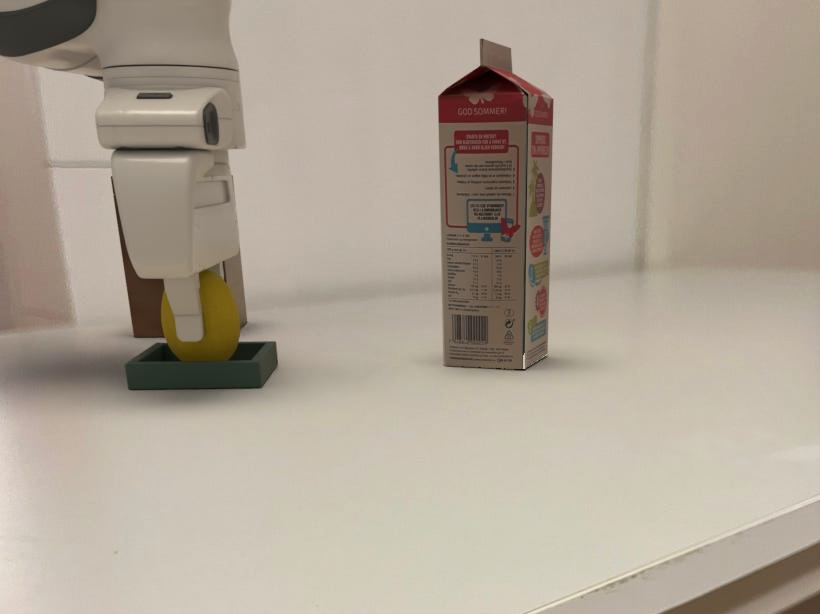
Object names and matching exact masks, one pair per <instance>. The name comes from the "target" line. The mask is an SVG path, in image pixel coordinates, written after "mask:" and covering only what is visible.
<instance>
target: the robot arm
mask: <svg viewBox="0 0 820 614" xmlns="http://www.w3.org/2000/svg"><path fill="white" fill-rule="evenodd" d="M232 5H233V0H0V57H2V58H5V59H7V60H10V61H12V62H14V63H15V62H16V63H19V64H22V65H29V66H32V67H33V66H34V67H39V68H44V69H48V70H52V71H55V72H62V73H68V74H77V75H83V76H86V77H88V78H91V79H93V80H96V81H99V82H102V83H103V89H104V90H103V99H102V101H101V102H100V103H99V105H98V106H97V108H96V110H95V113H94V119H95V120H94V121H95V126H96V127H95V128H96V134H97V139H98V143H99V145H100V147H101V148H103V149H105V150H112V152H111V157H110V170H111V176H112V178H113V183H114V189H115V194H116V199H117V204H118V209H119V214H120V219H121V224H122V229H123V233H124V238H125V243H126V247H127V251H128V254H129V257H130V260H131V262H132V265H133V267H134V269H135V271H136V273H137V275H138V276H139V277H140V278H146V279H164V287H165V293H166V295H167V298H168V301H169V304H170V306H171V309H172V312H173V315H174V319H175V326H176V334H177V337H178V339H179V340H181V341H182V342H198V341H200V340H201V339H203V338H204V337H205V335H206V327H205V315H204V313H202V309H201V302H200V295H199V289H200V281H199V272H202V271H204V270H206V269H207V270H210V271H212V272H214V273H215V274H217V275H218V276H220V277H221V278H222V279H223V280H224V272H223V263H222V262H223V261H225V260H227V259H229V258H231V257H233V256H236V255H237V254H238V252H239V243H240V231H239V222H238V214H237V213H238V212H237V205H236V204H237V203H236V196H235V197H234V193H235V188H234V189H233V182H234V181H233V182H232V176H231V175H232V171H231V165H230V155H229V151H230V150H244V149H246V148H247V138H246V129H245V119H244V117H245V116H244V105H243V97H242V96H243V95H242V85H241V74H240V65H239V62H238V58H237V56H236V53H235V50H234V47H233V43H232V38H231V32H230V31H231V30H230V17H231V10H232ZM235 203H236V204H235Z"/></svg>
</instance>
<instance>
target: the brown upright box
mask: <svg viewBox="0 0 820 614" xmlns="http://www.w3.org/2000/svg"><path fill="white" fill-rule="evenodd" d="M231 176H232V182H233V189H234V190H235V183H234V182H235V181H234V175H233V174H231ZM110 181H111V182H110V183H111V189H112V194H113V196H112V197H113V203H114V210H115V215H116V216H115V217H116V225H117V231H118V237H119V244H120V252H121V258H122V265H123V272H124V278H125V286H126V293H127V299H128V305H129V314H130V318H131V319H130V321H131V326H132V327H131V328H132V333H133V338H165V336H164V332H163V328H162V322H161V304H162V297H163V293H164V290H165V287H164V279H146V278H140V277H139V276H138V275H137V273H136V271H135V269H134V267H133V265H132V262H131V260H130V257H129V254H128V251H127V247H126V243H125V238H124V233H123V229H122V224H121V219H120V214H119V209H118V204H117V199H116V194H115V189H114V183H113V178H112V175H111V176H110ZM234 197H235V198H236V194H235V192H234ZM235 204H237V202H235ZM222 263H223V272H224V281H225V282H226V283H227V285H228V286H229V288H230V289H231V291H232V293H233V296H234V298H235V301H236V304H237V308H238V312H239V318H240V329H242V328H243V327H244V326H245V325H246V324H247V323H248V317H247V316H248V315H247V314H248V313H247V305H246V295H245V285H244V275H243V267H242V266H243V265H242V253H241V245H240V242H239V252H238V254H237V255H236V256H233V257H231V258H229V259H227V260H225V261H223V262H222Z"/></svg>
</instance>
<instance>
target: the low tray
mask: <svg viewBox="0 0 820 614" xmlns="http://www.w3.org/2000/svg"><path fill="white" fill-rule="evenodd" d="M278 359H279V358H278V349H277V341H276V340H269V341H267V340H264V341H262V340H261V341H260V340H259V341H257V340H256V341H239V342H238V346H237V348H236V350H235V352H234V353H233V355H232V356H231V357H230V358H229V359H228V360H227V361H181V360H180V359H179V358H178V357H177V356H176V355H175V354H174V353H173V352H172V350H171V349H170V347H169V345H168V343H167V342H155V343H154V344H152V345H151V346H149V347H148V348H146V349H145V350H143V351H142V352H140V353H139V354H137V355H135V356H134V357H132V358H131V359H130V360H128V361H127V362H125V363H124V370H125V376H126V382H127V389H128V390H188V389H189V390H190V389H248V388H249V389H253V388H254V389H255V388H257V389H258V388H262V387H263V386H264V384H265V383H266V381H267V380H268V379H269V378H270V376H271V375H272V373H273V372H274V370H275V369H276V368H277V366H278V365H279V360H278Z"/></svg>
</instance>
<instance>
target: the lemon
mask: <svg viewBox="0 0 820 614" xmlns="http://www.w3.org/2000/svg"><path fill="white" fill-rule="evenodd" d="M199 281H200V289H199V295H200V302H201V309H202V313H204V315H205V327H206V335H205V337H204V338H203V339H201V340H200V341H198V342H182V341H181V340H179V339H178V337H177V334H176V326H175V319H174V315H173V312H172V309H171V306H170V304H169V301H168V298H167V295H166V293H165V290H164V293H163V297H162V304H161V322H162V328H163V332H164V336H165V337H164V338H165V341H166V343H168V345H169V347H170V349H171V350H172V352H173V353H174V354H175V355H176V356H177V357H178V358H179V359H180V360H181V361H227V360H228V359H229V358H230V357H231V356H232V355H233V353H234V352H235V350H236V348H237V346H238V342H240V337H241V328H240V318H239V312H238V308H237V304H236V301H235V298H234V296H233V293H232V291H231V289H230V288H229V286H228V285H227V283H226V282H225V281H224V280H223V279H222V278H221V277H220V276H218V275H217V274H215V273H214V272H212V271H210V270H207V269H206V270H204V271H202V272H199Z"/></svg>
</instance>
